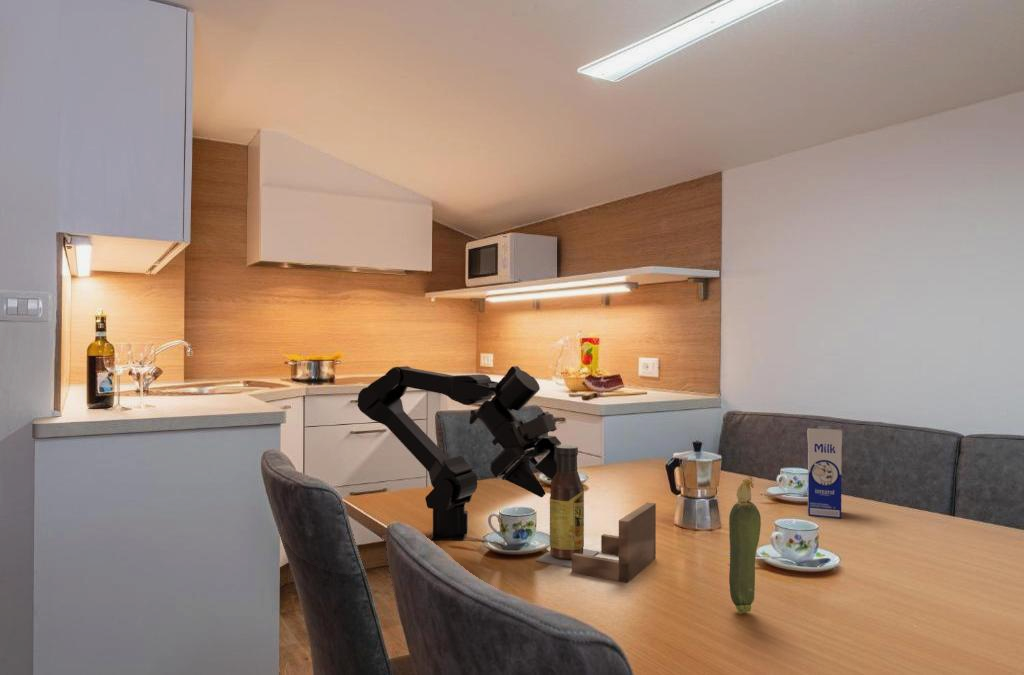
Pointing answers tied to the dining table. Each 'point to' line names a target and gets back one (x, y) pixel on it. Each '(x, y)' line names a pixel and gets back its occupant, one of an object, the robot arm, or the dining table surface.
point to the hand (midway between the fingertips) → (555, 490)
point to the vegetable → (743, 547)
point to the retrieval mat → (562, 562)
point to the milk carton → (824, 472)
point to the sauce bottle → (566, 506)
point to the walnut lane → (623, 548)
